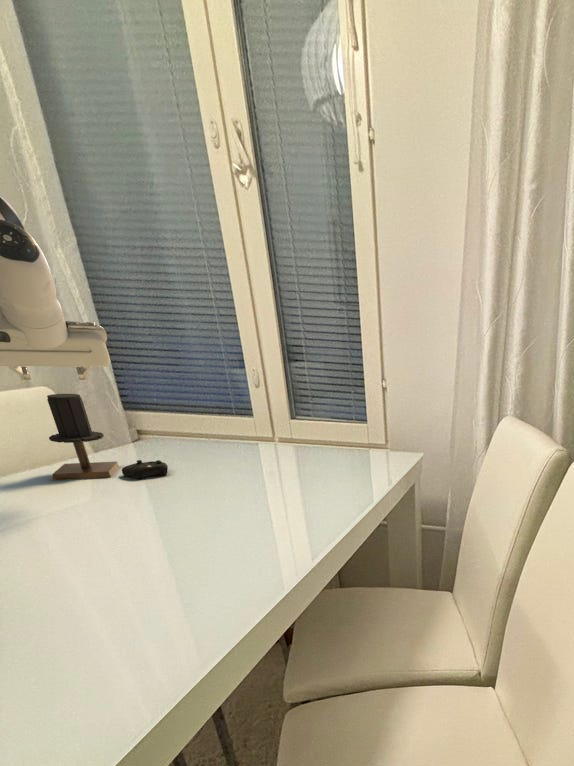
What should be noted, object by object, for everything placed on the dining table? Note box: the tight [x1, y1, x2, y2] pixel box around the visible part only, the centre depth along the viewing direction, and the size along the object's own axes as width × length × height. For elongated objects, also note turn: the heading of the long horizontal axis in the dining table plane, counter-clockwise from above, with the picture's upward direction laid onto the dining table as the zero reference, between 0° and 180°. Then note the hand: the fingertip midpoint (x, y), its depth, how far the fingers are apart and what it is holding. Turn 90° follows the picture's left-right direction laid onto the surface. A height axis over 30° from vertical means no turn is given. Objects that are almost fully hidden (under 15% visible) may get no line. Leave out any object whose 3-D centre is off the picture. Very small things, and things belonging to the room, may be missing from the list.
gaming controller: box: [121, 459, 169, 480], centre depth 128 cm, size 10×5×6 cm
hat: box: [46, 393, 105, 444], centre depth 122 cm, size 10×10×9 cm
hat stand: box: [51, 441, 120, 481], centre depth 124 cm, size 11×11×16 cm
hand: (54, 377), depth 109 cm, fingers open, 8 cm apart
